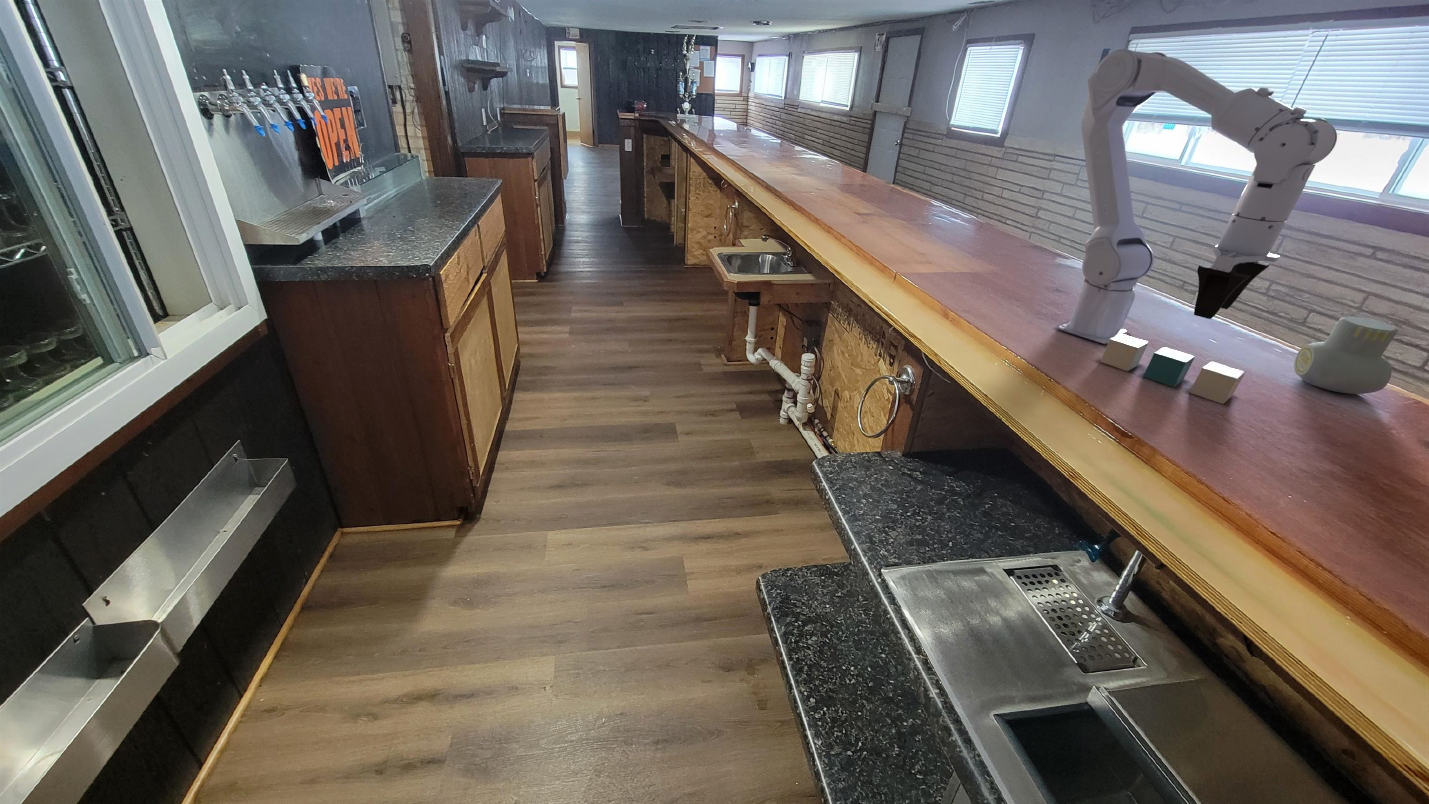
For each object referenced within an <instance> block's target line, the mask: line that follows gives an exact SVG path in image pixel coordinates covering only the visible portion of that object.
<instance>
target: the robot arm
mask: <svg viewBox="0 0 1429 804" xmlns="http://www.w3.org/2000/svg"><path fill="white" fill-rule="evenodd" d="M1087 87H1088V97H1087V101H1086V104H1085V108H1084V111H1083V115H1082V119H1081V123H1080V128H1081V129H1080V130H1081V135H1082V136H1081V137H1082V143H1083V151H1084V161H1085V168H1086V175H1087V183H1088V190H1089V191H1088V193H1089V199H1090V209H1091V215H1092V223H1093V229H1094V230H1093V232H1092V233H1091V235H1090V236H1089V237H1088V238H1087V240H1086V241H1085V243H1084V247H1085V248H1084V249H1085V253H1084V259H1083V260H1082V265H1081V271H1082V275H1083V276H1084V280H1083V285H1082V288H1081V290H1080V293H1079V295H1078V298H1077V301H1076V303H1075V307H1074V309H1073V311H1072V315H1071V317H1070V319H1069V322H1065V323H1063V324H1061V325H1059V326H1058V327H1057V329H1058V330H1059V331H1063V332H1065V333H1069V334H1071V335H1074V336H1077V337H1081V338H1084V339H1087V340H1090V341H1094V342H1097V343H1100V344H1102V345H1106V344H1108V342H1109V340H1110V339H1111V338H1113V337H1115V336H1117V335H1119V334H1124V335H1127V333H1128V330H1126V329H1124V328H1123V327H1124V324H1125V322H1126V321H1127V320H1126V319H1127V318H1128V315H1129V314H1130V310H1131V308H1132V306H1133V303H1134V301H1135V299H1136V293H1135V288H1136V285H1137V283H1138V281H1139V279H1142V278H1143V277H1145V276H1146V275H1147V274H1149V272H1150V271H1151V270H1152V268H1153V266H1154V263H1155V254H1154V252H1153V250H1152V248H1151V247H1150V246H1149V245H1148V242H1147V241H1146V233H1145V232H1144V230H1143V229H1142V228H1141V227H1140V226H1139V225H1138V224H1137V223H1136V222H1135V217H1134V208H1133V200H1132V193H1131V184H1130V175H1129V168H1128V160H1127V159H1128V158H1127V151H1126V143H1125V136H1124V127H1123V126H1124V125H1125V123H1126V121H1128V119H1129V118H1130V116H1131V115H1132V114H1133V113H1134V112H1135V111H1136V110H1138V109H1139V108H1140V107H1141V106H1142V105H1144V104H1145V103H1146V102H1147V101H1149V100H1150V99H1151V98H1152V97H1153V96H1155V95H1156V94H1157V93H1161V94H1162V93H1163V94H1165V93H1167V94H1169V95H1171V96H1173V97H1175V98H1176V99H1179V100H1181V101H1182V102H1185V103H1186V104H1189V105H1190V106H1192V107H1194V108H1196V109H1198V110H1201V111H1202V112H1205V113H1206V114H1208V115H1210V116H1211V119H1210V123H1211V124H1210V126H1211V130H1212V131H1214V132H1216V133H1218V134H1219V135H1221V136H1223V137H1225V138H1226V139H1227V140H1230V141H1231V142H1233V143H1235V144H1237V145H1238V146H1239V147H1241V148H1243V149H1244V150H1247V151H1248V152H1249V153H1252V154H1253V156H1254V159H1255V163H1256V165H1255V167H1254V169H1253V171H1252V173H1251V175H1250V176H1249V179H1248V180H1247V183H1246V185H1245V187H1244V189H1243V190H1242V193H1241V195H1240V197H1239V200H1238V201H1237V203H1236V205H1235V208H1234V210H1233V212H1232V214H1231V216H1230V218H1229V220H1228V222H1227V223H1226V227H1225V228H1224V230H1223V233H1222V234H1221V237H1220V239H1219V241H1218V243H1217V244H1215V246H1214V247H1213V250H1212V252H1213V253H1214V255H1215V260H1214V262H1213V263H1212V264H1208V263H1204V262H1203V263H1201V264H1199V265H1198V267H1197V271H1196V272H1197V279H1198V290H1197V294H1196V295H1197V296H1196V300H1195V305H1194V310H1193V316H1196V317H1200V318H1204V319H1207V320H1212V319H1213V318H1214V317H1215V316H1216V314H1218V312H1219V311H1220V310H1221V309H1224V310H1228V309H1229V308H1230V307H1232V306H1233V304H1234V303H1235V302H1236V301H1237V299H1238V298H1239V297H1240V295H1241V294H1242V293H1243V292H1244V290H1245V289H1246V288H1247V287H1248V286H1249V284H1251V282H1252V281H1254V280H1255V278H1256V277H1258V275H1260V274H1261V273H1263V272H1264V271H1265V270H1267V269H1268V268H1269V267H1270V263H1269V262H1271V263H1276V262H1278V261H1279V259H1280V258H1281V256H1280V254H1279V255H1278V254H1274V253H1271V251H1272V249H1273V247H1274V245H1275V244H1276V242H1277V240H1278V238H1279V236H1280V235H1281V232H1282V230H1283V228H1284V227H1285V224H1286V223H1287V221H1288V219H1289V217H1290V215H1291V214H1292V211H1293V210H1294V208H1295V206H1296V204H1297V202H1298V200H1299V198H1300V197H1301V195H1302V192H1303V191H1304V190H1305V188H1306V184H1307V182H1308V180H1309V179H1310V177H1311V175H1312V173H1313V171H1314V169H1315V167H1316V164H1318V163H1320V162H1321V161H1323V160H1324V159H1325V158H1327V157H1328V156H1329V155H1330V154H1331V152H1332V151H1333V150H1334V149H1335V146H1336V144H1337V141H1338V134H1337V130H1336V128H1335V127H1334V126H1333V125H1332V124H1331V123H1329V121H1328V120H1327V119H1326V118H1320V117H1319V118H1318V117H1317V118H1306V119H1305V114H1306V113H1307V109H1305V108H1303V107H1301V106H1296V107H1294V108H1293V107H1290V106H1288V105H1287V104H1284V103H1282V102H1281V101H1279V100H1276V99H1275V98H1273V97H1272V96H1273V94H1274V93H1275V92H1274V90H1271V89H1270V88H1268V87H1259V88H1258V89H1256V88H1254V87H1249V88H1245V89H1242V90H1239V91H1233V90H1231V89H1230V88H1228V87H1226V86H1225V85H1223V84H1222V83H1220V82H1218V81H1217V80H1215V79H1213V78H1212V77H1210V76H1209V75H1206V74H1205V73H1204V72H1202V71H1200V70H1198V69H1197V68H1195V67H1194V66H1192V65H1191V64H1189V63H1187V62H1185V61H1183V60H1181V59H1180V58H1176V57H1173V56H1167V54H1165V53H1163V52H1160V51H1153V52H1146V51H1136V50H1132V49H1129V48H1128V49H1127V48H1118V49H1116V50H1112V51H1111V52H1109V53H1107V55H1106V56H1104V57H1103V58H1102V60H1100V62H1099V63H1098V64H1097V66H1096V67H1095V69H1094V70H1093V72H1092V73H1091V75H1090V76H1089V77H1088V78H1087Z"/></svg>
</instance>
